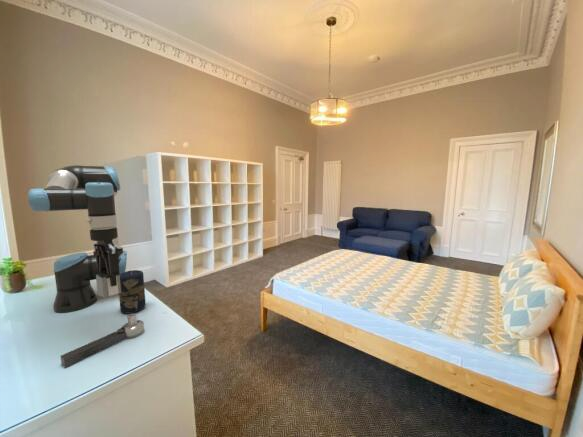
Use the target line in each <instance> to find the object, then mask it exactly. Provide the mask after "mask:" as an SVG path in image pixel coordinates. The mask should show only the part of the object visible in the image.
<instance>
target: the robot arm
mask: <svg viewBox="0 0 583 437" xmlns="http://www.w3.org/2000/svg"><path fill="white" fill-rule="evenodd" d="M47 182H48V183H47V184H46V185H45V187H44V188H42V187H40V188H31V189H29V191H28V193H27V195H28V196H27V197H28V198H27V199H28V204H29V207H30V209H31V211H34V212H58V211H59V212H60V211H74V210H75V211H77V210H78V211H80V210H84V211H85V210H87V216H88V219H86V222H87V223H88V227H89V228H90V230H89V236H90V241H93V242H96V243H93V248H94V250H92V252H93V254H92V255H91V254H90V255H89V254H88V253H87V252H76V253H73V254H68V255H65V256H62V257H60V258H57V259H55V261H54V262H53V272H54V279H55V288H56V295H55V298H54V300H53V301H54V302H53V305H52V307H53V312H55V313H62V314H63V313H69V312H70V313H71V312H75V311H79V310H80V311H81V310H82V309H85V308H88V307H90V306H92V305H94V304H95V303H97V301H98V296H97V295H98V294H97V293H96V292H95V290H94V289H93V286H92V284H91V281H94V280H95V281H96V275H98V274H102V273H106V272H107V274H108V276H107V277H106V279H107V285H108V295H109V296H108V297H112V296H115V295H119V293H118V283H117V275H120V274H121V273H123V272H126V271H127V260H128V259H127V258H128V257H127V252H128V251H127V250H124V248H123V246H121V245H120V244H119V233H118V232H119V231H118V221H117V214H116V212H117V211H116V205H115V204H116V203H115V202H116V201H115V197H116V196H117V195H118V191H120V190H121V184H120V179H119V176H118V173H117V171H116V168H114V167H112V166H104V165H102V166H100V165H98V166H97V165H68V166H63V167H60V168H57V169H55V170H53V171H52V172H51V173H50V174H49V176H48V181H47Z"/></svg>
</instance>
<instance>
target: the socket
mask: <svg viewBox="0 0 583 437" xmlns="http://www.w3.org/2000/svg"><path fill="white" fill-rule="evenodd" d="M107 276H108V274H107V272H106V273H102V274H98V275H96V279H95V281H96V289H97V295H99V296H100V297H102V298H103V299H105V298H108V297H110V296H109V295H108V285H107V279H106V277H107ZM117 283H118V294H119V293H121V285H120V275H117Z"/></svg>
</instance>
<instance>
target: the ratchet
mask: <svg viewBox="0 0 583 437" xmlns="http://www.w3.org/2000/svg"><path fill="white" fill-rule="evenodd" d="M126 318H127V323H124V324H123V325H122V326H121V328H119V329H117V330H116V331H114V332H111V333H110V334H107V335H105V336H103V337H100V338H98V339H96V340H93V341H91V342H89V343H87V344H84V345H82V346H79V347H78V348H75V349H73V350H70V351H68V352H66V353H63V354H61V355H60V363H61V366H62V367H63V368H64V369H66V368H68V367H71V366H72V365H75V364H78V363H79V362H81V361H83V360H86V359H88V358H90V357H92V356H94V355H96V354H98V353H100V352H102V351H104V350H106V349H108V348H111V347H112V346H115V345H117V344H118V343H121V342H123V341H125V340H131V339H136V338H137V337H140V336H141V335H143V334H144V333H145V325H144V324H145V323H144V321H143V320H140V319H138V316H137V314H136V313H135V312H133V313H129V314H128V315H127V316H126Z"/></svg>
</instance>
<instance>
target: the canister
mask: <svg viewBox="0 0 583 437" xmlns="http://www.w3.org/2000/svg"><path fill="white" fill-rule="evenodd" d="M120 285H121V293H118V300H119V310H120V311H121V313H123V314H133V313H136V312H139V311H141V310H143V309H144V308H145V307H146V293H145V292H146V290H145V278H144V272H143V270H139V269H135V270H132V269H131V270H128V271H127V270H126V271H125V272H123V273H121V274H120Z"/></svg>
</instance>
